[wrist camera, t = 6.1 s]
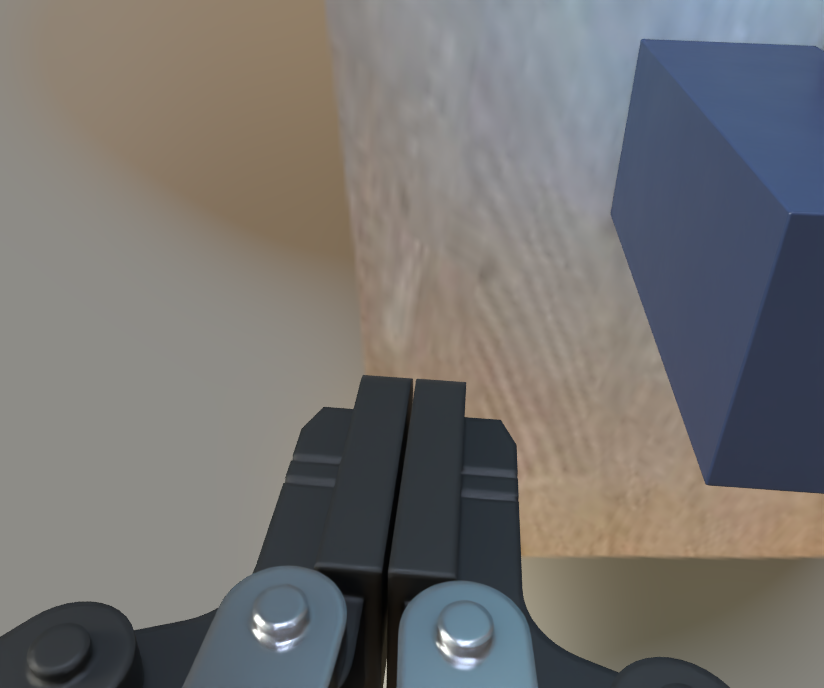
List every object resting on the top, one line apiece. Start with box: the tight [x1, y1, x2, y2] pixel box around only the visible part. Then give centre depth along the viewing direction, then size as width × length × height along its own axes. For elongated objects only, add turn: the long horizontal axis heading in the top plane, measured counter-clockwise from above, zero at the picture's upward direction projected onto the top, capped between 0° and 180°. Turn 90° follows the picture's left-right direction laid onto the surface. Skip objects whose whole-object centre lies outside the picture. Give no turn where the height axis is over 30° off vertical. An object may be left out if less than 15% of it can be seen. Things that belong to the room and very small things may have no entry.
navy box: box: [611, 39, 824, 494], centre depth 18 cm, size 5×6×13 cm
